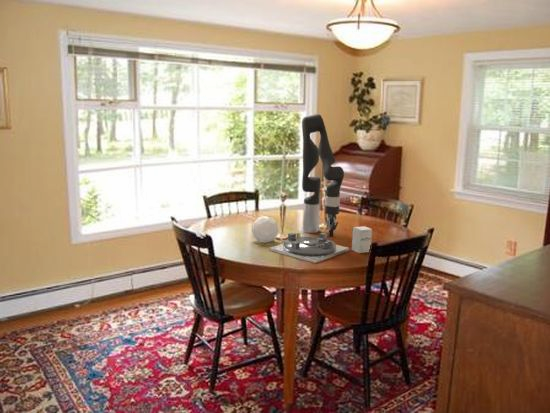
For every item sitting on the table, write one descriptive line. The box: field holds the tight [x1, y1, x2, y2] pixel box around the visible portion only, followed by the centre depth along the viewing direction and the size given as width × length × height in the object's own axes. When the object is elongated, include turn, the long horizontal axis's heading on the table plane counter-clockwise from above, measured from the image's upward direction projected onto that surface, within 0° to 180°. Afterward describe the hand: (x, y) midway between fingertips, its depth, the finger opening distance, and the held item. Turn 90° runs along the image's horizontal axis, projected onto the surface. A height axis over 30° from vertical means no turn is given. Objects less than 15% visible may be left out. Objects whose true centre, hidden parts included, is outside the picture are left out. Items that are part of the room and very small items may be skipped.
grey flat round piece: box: [282, 232, 337, 255], centre depth 265 cm, size 28×28×5 cm
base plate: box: [268, 232, 350, 264], centre depth 265 cm, size 30×30×6 cm
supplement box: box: [351, 225, 373, 254], centre depth 266 cm, size 7×7×13 cm
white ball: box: [251, 215, 279, 244], centre depth 279 cm, size 14×15×15 cm
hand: (330, 236), depth 267 cm, fingers closed
